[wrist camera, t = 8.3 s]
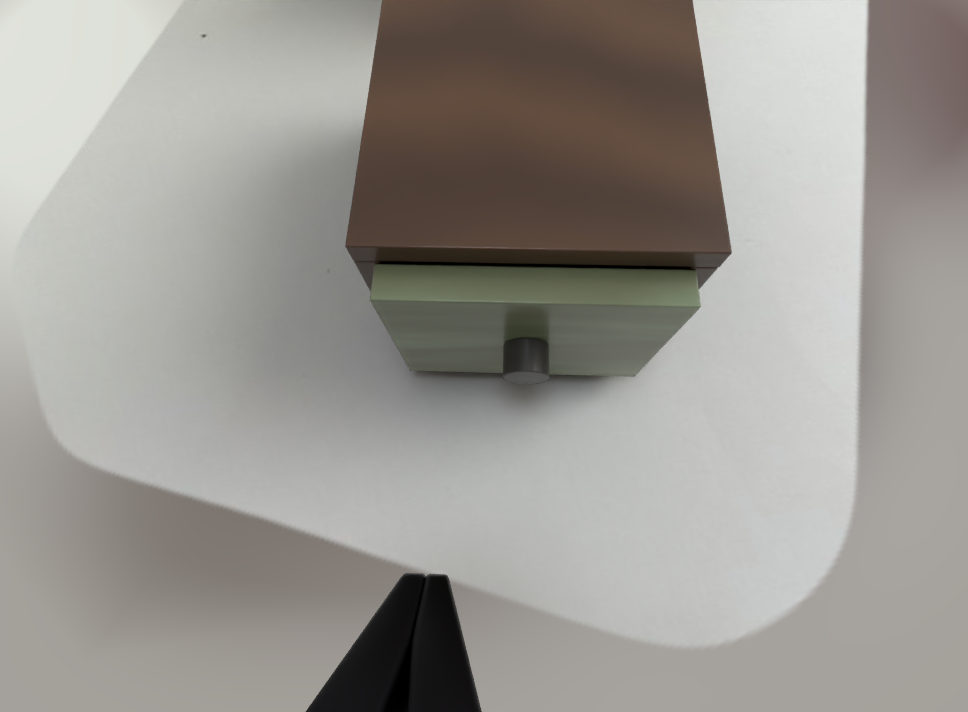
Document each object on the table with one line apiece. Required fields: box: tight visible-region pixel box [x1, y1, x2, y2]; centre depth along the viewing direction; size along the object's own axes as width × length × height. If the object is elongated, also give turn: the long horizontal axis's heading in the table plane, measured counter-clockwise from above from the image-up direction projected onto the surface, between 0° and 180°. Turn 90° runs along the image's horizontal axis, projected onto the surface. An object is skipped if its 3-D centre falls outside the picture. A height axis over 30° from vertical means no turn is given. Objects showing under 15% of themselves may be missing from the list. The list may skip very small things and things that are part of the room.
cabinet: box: [345, 0, 732, 292], centre depth 19 cm, size 14×11×9 cm
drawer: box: [370, 262, 701, 384], centre depth 19 cm, size 14×9×7 cm
